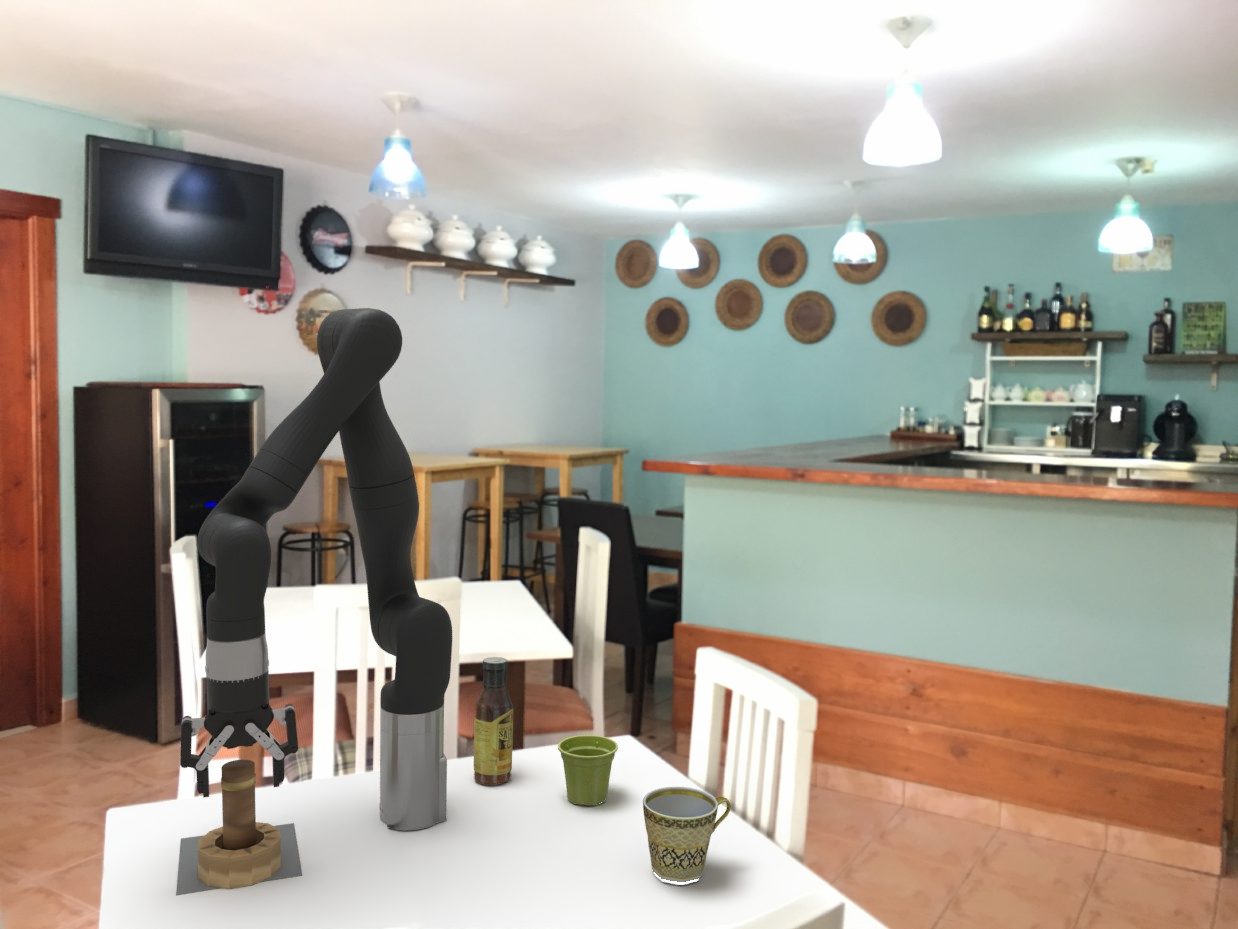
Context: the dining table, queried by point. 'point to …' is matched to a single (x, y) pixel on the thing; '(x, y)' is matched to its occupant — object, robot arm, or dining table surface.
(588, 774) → the plant pot
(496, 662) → the sauce bottle
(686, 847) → the ceramic cup
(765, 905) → the dining table surface
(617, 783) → the dining table surface
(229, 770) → the banded wooden cylinder
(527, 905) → the dining table surface
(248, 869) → the tan faceted ring
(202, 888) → the mat
